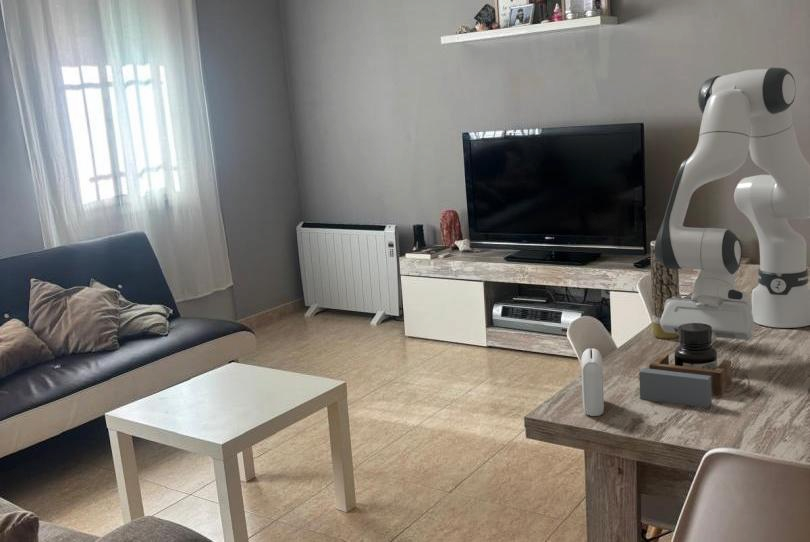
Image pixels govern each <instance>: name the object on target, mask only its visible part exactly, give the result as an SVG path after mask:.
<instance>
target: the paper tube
mask: <svg viewBox="0 0 810 542" xmlns="http://www.w3.org/2000/svg"><path fill="white" fill-rule="evenodd" d="M655 241H656V240H652V241H650V276H651V309H652V310H651V313H652V315H651V316H652V319H651V320H652V335H653V336H654V337H656V338H657V339H666V340H667V339H668V340H669V339H674V338H676V339H677V337H678V338H679V334H676V333H666V332H664V331H663V329H662V328H661V325H660V320H661V317H662V314H663V311H664V305H665V302H666V300H667V299H669V298H672V297H673V296H679V297H680V269H666V268H665V267H664V266H662V265H661V264H660V263H659V262H658V261H657V259H656V258H655V255H654V245H655ZM671 300H672V299H671Z"/></svg>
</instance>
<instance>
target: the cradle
mask: <svg viewBox="0 0 810 542" xmlns="http://www.w3.org/2000/svg"><path fill="white" fill-rule="evenodd" d="M669 361H670V359H669V354H668V353H661V354H660V355H658V356H657V357H656V358H655V359H654V360H653V361H652V362H651V363H650V364H649V365H648V366H649V368H648V369H656V370H664V371H673V372H682V373H690V374H699V375H708V376H711V396H722V395H723V394H724V393H725V391H726V390H727V389H728V388H729V386H730V385H731V384H732V360H728V359H727V360H726V359H723V360H722V362H721V363H720V364H718V365H717V368H716V370H711V369H702V368H693V367H684V366H675V364H673V365H672V364H670V362H669Z"/></svg>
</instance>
